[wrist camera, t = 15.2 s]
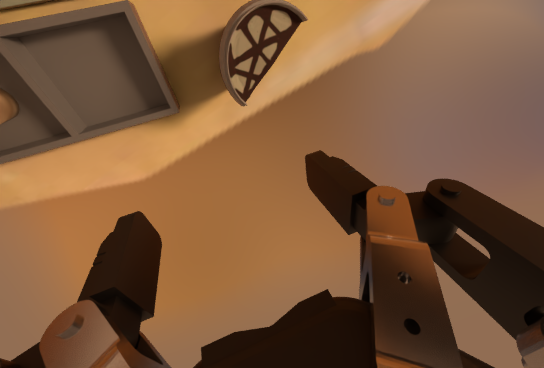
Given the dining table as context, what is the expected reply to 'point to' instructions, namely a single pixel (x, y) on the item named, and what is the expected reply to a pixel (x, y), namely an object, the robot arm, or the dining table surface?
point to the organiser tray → (79, 78)
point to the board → (18, 3)
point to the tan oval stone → (7, 106)
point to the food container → (255, 43)
